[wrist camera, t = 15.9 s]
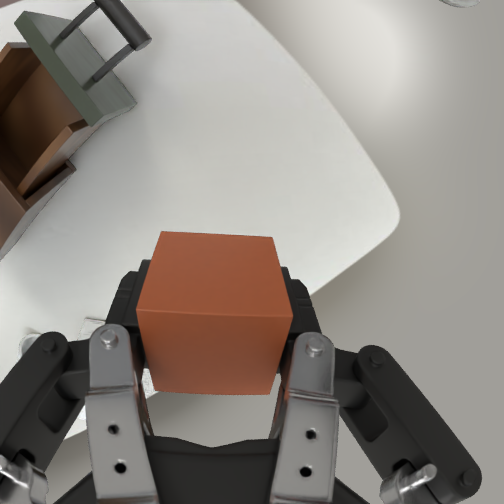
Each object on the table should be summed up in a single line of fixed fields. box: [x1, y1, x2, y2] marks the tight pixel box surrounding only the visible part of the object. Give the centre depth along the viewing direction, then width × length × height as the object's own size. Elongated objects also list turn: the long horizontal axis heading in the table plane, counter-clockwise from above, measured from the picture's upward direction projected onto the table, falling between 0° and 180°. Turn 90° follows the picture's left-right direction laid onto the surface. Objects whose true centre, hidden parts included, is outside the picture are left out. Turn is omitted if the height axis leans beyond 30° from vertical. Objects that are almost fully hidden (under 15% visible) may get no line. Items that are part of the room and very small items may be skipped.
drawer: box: [0, 0, 152, 200], centre depth 17 cm, size 18×11×8 cm, turn 123°
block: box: [136, 231, 293, 395], centre depth 10 cm, size 4×4×4 cm
